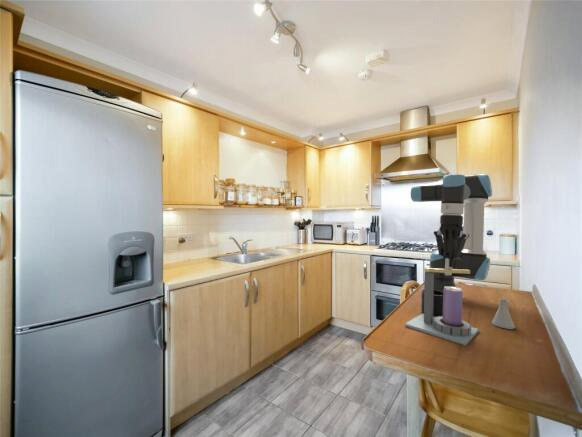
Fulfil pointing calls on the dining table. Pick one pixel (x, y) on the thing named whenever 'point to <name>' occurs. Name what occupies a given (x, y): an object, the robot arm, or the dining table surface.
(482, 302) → the dining table surface
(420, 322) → the seat board
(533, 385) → the dining table surface
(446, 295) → the beverage can
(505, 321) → the flask
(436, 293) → the mug
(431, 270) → the lever
